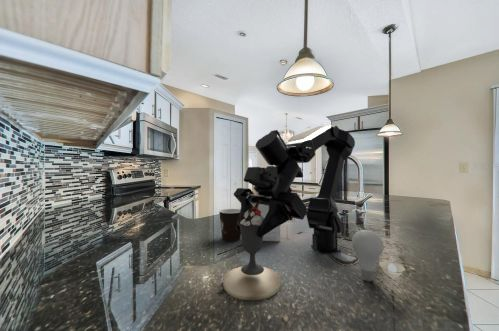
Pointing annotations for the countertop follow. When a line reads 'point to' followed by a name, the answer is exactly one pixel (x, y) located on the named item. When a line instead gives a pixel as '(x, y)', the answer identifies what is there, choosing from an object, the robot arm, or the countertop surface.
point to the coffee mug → (229, 225)
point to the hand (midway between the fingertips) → (247, 232)
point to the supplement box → (273, 234)
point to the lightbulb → (367, 252)
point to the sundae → (251, 238)
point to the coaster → (251, 284)
